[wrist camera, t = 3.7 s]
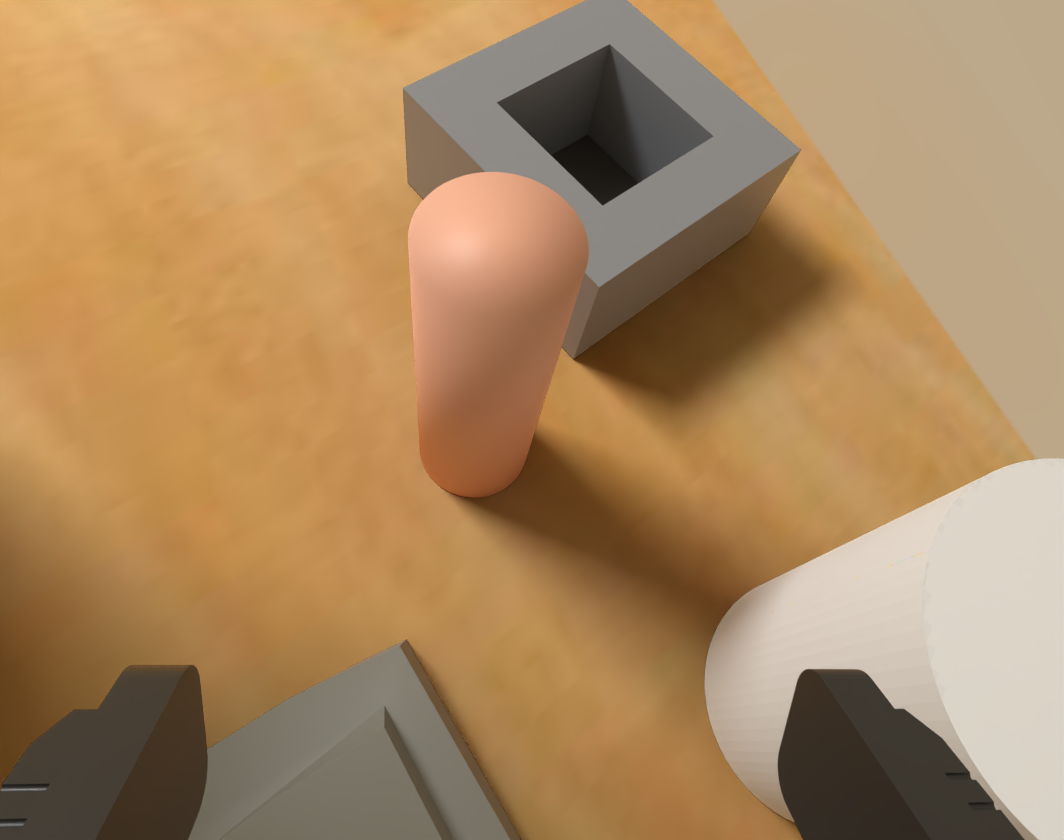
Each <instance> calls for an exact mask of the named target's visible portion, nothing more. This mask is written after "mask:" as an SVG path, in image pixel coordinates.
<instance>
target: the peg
mask: <svg viewBox="0 0 1064 840" xmlns="http://www.w3.org/2000/svg"><path fill="white" fill-rule="evenodd" d="M408 251H409V269H410V286H411V304H412V321H413V339H414V357H415V374H416V392H417V409H418V427H419V444H420V455H421V460H422V463H423V466H424V468H425V470H426V471H427V473H428V474H429V476H430V477H431V478H432V479H433V480H434V482H435V483H437V484H438V485H439V486H440V487H442V488H443V489H445V490H446V491H448V492H451V493H453V494H456V495H459V496H463V497H471V498H478V497H485V496H490V495H493V494H496V493H498V492H500V491H502V490H504V489H505V488H507V487H508V486H509V485H510V484H512V483H513V482H514V481H515V479H516V478H517V477H518V476H519V474H520V473H521V471H522V469H523V467H524V464H525V461H526V458H527V455H528V452H529V448H530V445H531V442H532V439H533V436H534V433H535V429H536V426H537V423H538V420H539V417H540V414H541V410H542V407H543V404H544V401H545V398H546V394H547V391H548V388H549V385H550V382H551V379H552V375H553V372H554V369H555V366H556V363H557V360H558V356H559V353H560V350H561V347H562V344H563V340H564V337H565V334H566V331H567V328H568V325H569V321H570V318H571V315H572V312H573V309H574V306H575V302H576V299H577V296H578V293H579V290H580V287H581V283H582V280H583V277H584V274H585V271H586V267H587V264H588V257H589V244H588V239H587V234H586V231H585V228H584V226H583V224H582V222H581V220H580V218H579V216H578V215H577V213H576V212H575V211H574V209H573V208H572V207H571V206H570V205H569V204H568V202H567V201H566V200H564V199H563V198H562V197H561V196H560V195H559V194H557V193H556V192H555V191H553V190H552V189H550V188H549V187H547V186H545V185H543V184H541V183H539V182H537V181H535V180H532V179H530V178H527V177H523V176H520V175H515V174H510V173H503V172H480V173H473V174H468V175H464V176H461V177H458V178H455V179H452V180H450V181H448V182H446V183H444V184H442V185H441V186H439V187H437V188H436V189H435V190H433V191H432V192H431V193H430V194H429V195H427V196H426V198H425V199H424V200H423V201H422V202H421V203H420V205H419V206H418V208H417V209H416V211H415V213H414V215H413V217H412V219H411V223H410V226H409V232H408Z"/></svg>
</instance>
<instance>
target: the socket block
mask: <svg viewBox="0 0 1064 840" xmlns="http://www.w3.org/2000/svg"><path fill="white" fill-rule="evenodd" d="M403 100H404V120H405V140H406V160H407V180H408V184H409V185H410V186H411V187H412V188H413V189H414V190H415V191H416V192H417V193H418V194H419V195H420V196H421V197H422V198H423V200H424V199H425V198H426V196H427V195H429V194H430V193H431V192H432V191H433V190H435V189H436V188H437V187H439V186H441V185H442V184H444V183H446V182H448V181H450V180H452V179H455V178H458V177H461V176H464V175H468V174H473V173H480V172H503V173H510V174H515V175H520V176H523V177H527V178H530V179H532V180H535V181H537V182H539V183H541V184H543V185H545V186H547V187H549V188H550V189H552V190H553V191H555V192H556V193H557V194H559V195H560V196H561V197H562V198H563V199H564V200H566V201H567V202H568V204H569V205H570V206H571V207H572V208H573V209H574V211H575V212H576V213H577V215H578V216H579V218H580V220H581V222H582V224H583V226H584V228H585V231H586V234H587V239H588V244H589V257H588V264H587V267H586V271H585V274H584V277H583V280H582V283H581V287H580V290H579V293H578V296H577V299H576V302H575V306H574V309H573V312H572V315H571V318H570V321H569V325H568V328H567V331H566V334H565V337H564V340H563V344H562V348H563V349H564V350H565V351H566V352H567V353H568V354H569V355H570V356H571V357H572V358H573V359H574V358H576V357H577V356H578V355H580V354H581V353H583V352H584V351H585V350H587V349H588V348H590V347H591V346H592V345H594V344H595V343H597V342H598V341H599V340H601V339H602V338H604V337H605V336H606V335H608V334H609V333H611V332H612V331H613V330H615V329H616V328H618V327H619V326H620V325H622V324H623V323H625V322H626V321H627V320H629V319H630V318H632V317H633V316H634V315H636V314H637V313H639V312H640V311H641V310H643V309H644V308H645V307H647V306H648V305H650V304H651V303H652V302H654V301H655V300H657V299H658V298H659V297H661V296H662V295H664V294H665V293H666V292H668V291H669V290H671V289H672V288H673V287H675V286H676V285H678V284H679V283H680V282H682V281H683V280H685V279H686V278H687V277H689V276H690V275H692V274H693V273H694V272H696V271H697V270H699V269H700V268H701V267H703V266H704V265H706V264H707V263H708V262H710V261H711V260H712V259H714V258H715V257H717V256H718V255H719V254H721V253H722V252H724V251H725V250H726V249H728V248H729V247H731V246H732V245H733V244H735V243H736V242H738V241H739V240H740V239H742V238H743V237H745V236H746V235H747V234H749V233H750V232H751V230H752V229H753V227H754V226H755V224H756V222H757V221H758V219H759V217H760V216H761V214H762V213H763V211H764V209H765V208H766V206H767V204H768V203H769V201H770V200H771V198H772V196H773V195H774V193H775V191H776V190H777V188H778V187H779V185H780V183H781V182H782V180H783V178H784V177H785V175H786V174H787V172H788V170H789V169H790V167H791V165H792V164H793V162H794V161H795V159H796V157H797V156H798V154H799V152H800V151H801V149H799V148H798V147H797V146H796V145H795V144H794V143H792V142H791V141H790V140H789V139H788V138H787V137H785V136H784V135H783V134H782V133H781V132H780V131H778V130H777V129H776V128H775V127H774V126H773V125H771V124H770V123H769V122H768V121H767V120H766V119H764V118H763V117H762V116H761V115H760V114H759V113H757V112H756V111H755V110H754V109H753V108H752V107H750V106H749V105H748V104H747V103H746V102H745V101H743V100H742V99H741V98H740V97H739V96H738V95H736V94H735V93H734V92H733V91H732V90H731V89H730V88H728V87H727V86H726V85H725V84H724V83H723V82H721V81H720V80H719V79H718V78H717V77H716V76H714V75H713V74H712V73H711V72H710V71H709V70H707V69H706V68H705V67H704V66H703V65H702V64H700V63H699V62H698V61H697V60H696V59H695V58H693V57H692V56H691V55H690V54H689V53H688V52H686V51H685V50H684V49H683V48H682V47H681V46H679V45H678V44H677V43H676V42H675V41H674V40H672V39H671V38H670V37H669V36H668V35H667V34H665V33H664V32H663V31H662V30H661V29H660V28H658V27H657V26H656V25H655V24H654V23H653V22H652V21H650V20H649V19H648V18H647V17H646V16H645V15H643V14H642V13H641V12H640V11H639V10H638V9H636V8H635V7H634V6H633V5H632V4H631V3H629V2H628V1H627V0H586V1H584V2H581V3H579V4H577V5H575V6H573V7H571V8H569V9H567V10H565V11H563V12H561V13H558V14H556V15H554V16H552V17H550V18H548V19H546V20H544V21H542V22H540V23H538V24H535V25H533V26H531V27H529V28H527V29H525V30H523V31H521V32H519V33H517V34H515V35H512V36H510V37H508V38H506V39H504V40H502V41H500V42H498V43H496V44H494V45H492V46H489V47H487V48H485V49H483V50H481V51H479V52H477V53H475V54H473V55H471V56H469V57H467V58H464V59H462V60H460V61H458V62H456V63H454V64H452V65H450V66H448V67H446V68H444V69H441V70H439V71H437V72H435V73H433V74H431V75H429V76H427V77H425V78H423V79H421V80H418V81H416V82H414V83H412V84H410V85H408V86H406V87H404V88H403Z"/></svg>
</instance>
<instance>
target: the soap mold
mask: <svg viewBox="0 0 1064 840" xmlns="http://www.w3.org/2000/svg"><path fill="white" fill-rule="evenodd" d="M207 755H208V770H207V780H206V786H205V791H204V796H203V800H202V804H201V807H200V810H199V813H198V816H197V818H196V821H195V823H194V826H193V829H192V831H191V834H190V836H189V839H188V840H521V839H520V837H519V835H518V833H517V832H516V830H515V828H514V826H513V825H512V823H511V821H510V819H509V818H508V816H507V814H506V812H505V811H504V809H503V807H502V805H501V804H500V802H499V800H498V798H497V797H496V795H495V793H494V791H493V790H492V788H491V786H490V784H489V783H488V781H487V779H486V777H485V776H484V774H483V772H482V770H481V769H480V767H479V765H478V763H477V762H476V760H475V758H474V757H473V755H472V753H471V751H470V750H469V748H468V746H467V744H466V743H465V741H464V739H463V737H462V736H461V734H460V732H459V730H458V729H457V727H456V725H455V723H454V722H453V720H452V718H451V716H450V715H449V713H448V711H447V709H446V708H445V706H444V704H443V702H442V701H441V699H440V697H439V695H438V694H437V692H436V690H435V688H434V687H433V685H432V683H431V681H430V680H429V678H428V676H427V674H426V673H425V671H424V669H423V667H422V666H421V664H420V662H419V660H418V659H417V657H416V655H415V653H414V652H413V650H412V648H411V646H410V645H409V643H408V641H407V639H406V640H404V641H402V642H400V643H398V644H395V645H393V646H391V647H389V648H387V649H385V650H383V651H381V652H379V653H376V654H375V655H373V656H371V657H369V658H367V659H365V660H363V661H361V662H359V663H357V664H355V665H353V666H351V667H349V668H347V669H345V670H343V671H341V672H339V673H338V674H336V675H334V676H332V677H330V678H328V679H326V680H324V681H322V682H320V683H318V684H316V685H314V686H312V687H310V688H308V689H306V690H304V691H303V692H301V693H299V694H297V695H295V696H293V697H291V698H289V699H287V700H286V701H284V702H282V703H281V704H279V705H278V706H276V707H274V708H273V709H271V710H270V711H268V712H266V713H265V714H263V715H262V716H260V717H258V718H257V719H255V720H254V721H252V722H250V723H249V724H247V725H246V726H244V727H242V728H241V729H239V730H238V731H236V732H234V733H233V734H231V735H230V736H228V737H226V738H225V739H223V740H222V741H220V742H218V743H217V744H215V745H214V746H212V747H210V748H209V749H207Z"/></svg>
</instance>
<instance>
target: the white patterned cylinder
mask: <svg viewBox="0 0 1064 840" xmlns="http://www.w3.org/2000/svg"><path fill="white" fill-rule="evenodd" d="M806 669H859V670H862V671H864V672H865V673H867V674H868V675H869V676H870V677H871V679H872V680H873V681H874V682H875V684H876V685H877V686H878V688H879V689H880V690H881V692H882V693H883V694H884V695H885V697H886V698H887V699H888V701H889V702H890V703H891V704H892V706H893V707H894V708H895V709H905V710H906V711H908V712H909V713H910V714H912V715H913V716H914V717H915V718H917V719H918V720H919V721H921V722H922V723H923V724H925V725H926V726H927V727H929V728H930V729H931V730H932V731H934V732H935V733H936V734H938V735H939V736H940V737H942V738H943V740H944V741H945V742H946V743H947V745H948V746H949V747H950V748H951V750H952V751H953V752H954V753H955V754H956V756H957V757H958V758H959V759H960V761H961V762H962V763H963V764H964V766H965V767H966V768H967V769H968V770H969V772H970V777H971V779H972V780H977V782H978V783H979V784H980V785H981V786H982V788H983V789H984V790H985V791H986V793H987V794H988V795H989V796H990V797H991V799H992V800H993V801H994V807H995V809H996V810H1001V811H1002V812H1003V813H1004V815H1005V816H1006V817H1007V818H1008V820H1009V821H1010V822H1011V823H1012V825H1013V826H1014V827H1015V828H1016V829H1017V831H1018V832H1019V833H1020V834H1021V836H1022V837H1023V838H1024V839H1025V840H1064V459H1056V458H1055V459H1037V460H1029V461H1024V462H1019V463H1015V464H1012V465H1009V466H1006V467H1003V468H1001V469H998V470H996V471H994V472H992V473H990V474H988V475H986V476H983V477H981V478H979V479H977V480H975V481H973V482H971V483H969V484H967V485H965V486H963V487H961V488H959V489H957V490H955V491H953V492H951V493H949V494H947V495H944V496H942V497H940V498H938V499H936V500H934V501H932V502H930V503H928V504H926V505H924V506H922V507H920V508H918V509H916V510H914V511H912V512H910V513H908V514H905V515H903V516H901V517H899V518H897V519H895V520H893V521H891V522H889V523H887V524H885V525H883V526H881V527H879V528H877V529H875V530H873V531H871V532H869V533H866V534H864V535H862V536H860V537H858V538H856V539H854V540H852V541H850V542H848V543H846V544H844V545H842V546H840V547H838V548H836V549H834V550H832V551H830V552H828V553H825V554H823V555H821V556H819V557H817V558H815V559H813V560H811V561H809V562H807V563H805V564H803V565H801V566H799V567H797V568H795V569H793V570H791V571H789V572H786V573H784V574H782V575H780V576H778V577H776V578H774V579H772V580H770V581H768V582H766V583H764V584H762V585H760V586H758V587H756V588H754V589H752V590H751V591H749V592H748V593H746V594H745V595H743V596H742V597H741V598H740V599H739V600H738V601H736V602H735V603H734V604H733V605H732V607H731V608H730V609H729V610H728V611H727V613H726V614H725V615H724V617H723V618H722V620H721V622H720V623H719V625H718V627H717V629H716V631H715V633H714V635H713V638H712V641H711V644H710V647H709V651H708V655H707V660H706V667H705V697H706V705H707V711H708V715H709V719H710V723H711V726H712V729H713V732H714V735H715V738H716V740H717V742H718V745H719V747H720V749H721V751H722V753H723V755H724V757H725V759H726V760H727V762H728V764H729V765H730V767H731V768H732V770H733V771H734V773H735V774H736V775H737V777H738V778H739V779H740V781H741V782H742V783H743V784H744V785H745V787H746V788H747V789H748V790H749V791H750V792H751V793H752V794H753V795H754V796H755V797H756V798H758V799H759V800H760V801H761V802H762V803H763V804H765V805H766V806H767V807H768V808H770V809H771V810H773V811H774V812H776V813H777V814H779V815H780V816H782V817H784V818H786V819H788V820H790V821H792V822H794V820H793V818H792V816H791V814H790V812H789V810H788V808H787V806H786V803H785V801H784V798H783V795H782V792H781V788H780V784H779V777H778V754H779V749H780V745H781V741H782V737H783V734H784V730H785V726H786V722H787V718H788V714H789V711H790V707H791V703H792V699H793V695H794V691H795V687H796V684H797V680H798V678H799V676H800V674H801V673H802V672H803V671H804V670H806ZM794 823H795V822H794Z"/></svg>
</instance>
